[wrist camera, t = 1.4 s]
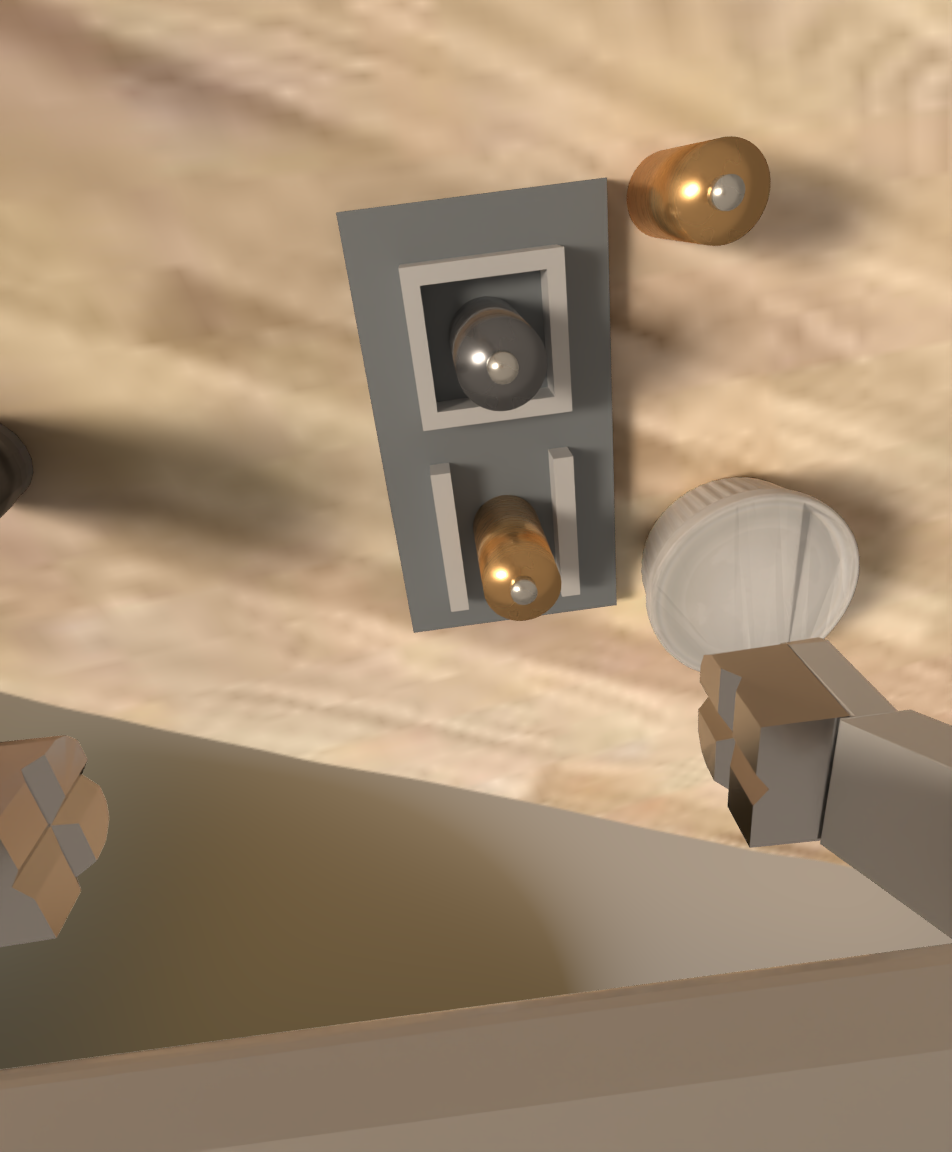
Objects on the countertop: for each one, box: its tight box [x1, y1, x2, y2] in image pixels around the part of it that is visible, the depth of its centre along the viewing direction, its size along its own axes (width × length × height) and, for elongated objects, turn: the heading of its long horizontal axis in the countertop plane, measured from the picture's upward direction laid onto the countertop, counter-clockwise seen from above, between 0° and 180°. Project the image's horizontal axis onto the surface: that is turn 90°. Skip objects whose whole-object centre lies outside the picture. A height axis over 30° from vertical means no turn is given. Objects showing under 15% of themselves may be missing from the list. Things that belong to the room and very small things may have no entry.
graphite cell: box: [449, 296, 547, 411], centre depth 30 cm, size 4×4×8 cm
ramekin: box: [641, 477, 860, 672], centre depth 39 cm, size 11×11×5 cm
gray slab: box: [336, 178, 617, 633], centre depth 36 cm, size 22×12×3 cm, turn 7°
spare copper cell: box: [473, 495, 561, 621], centre depth 35 cm, size 4×4×8 cm
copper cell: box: [627, 137, 770, 246], centre depth 29 cm, size 4×4×8 cm
